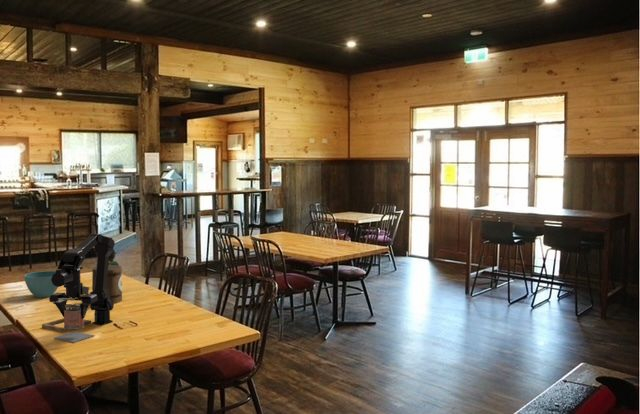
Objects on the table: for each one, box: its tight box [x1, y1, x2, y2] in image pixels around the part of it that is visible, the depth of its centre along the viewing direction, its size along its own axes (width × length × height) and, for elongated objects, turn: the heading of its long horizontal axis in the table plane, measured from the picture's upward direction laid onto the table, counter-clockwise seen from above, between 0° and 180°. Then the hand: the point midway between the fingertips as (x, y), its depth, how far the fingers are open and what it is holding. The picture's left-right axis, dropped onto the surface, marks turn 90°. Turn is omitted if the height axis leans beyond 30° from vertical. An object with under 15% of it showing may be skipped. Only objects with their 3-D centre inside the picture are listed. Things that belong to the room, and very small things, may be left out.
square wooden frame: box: [41, 317, 92, 333], centre depth 246 cm, size 14×14×2 cm
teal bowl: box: [23, 270, 59, 299], centre depth 301 cm, size 18×18×12 cm
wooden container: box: [91, 261, 123, 304], centre depth 291 cm, size 15×15×22 cm
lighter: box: [63, 303, 85, 330], centre depth 229 cm, size 8×3×10 cm, turn 93°
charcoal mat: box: [53, 330, 95, 344], centre depth 230 cm, size 12×10×1 cm
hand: (74, 318), depth 229 cm, fingers closed on lighter, 8 cm apart
